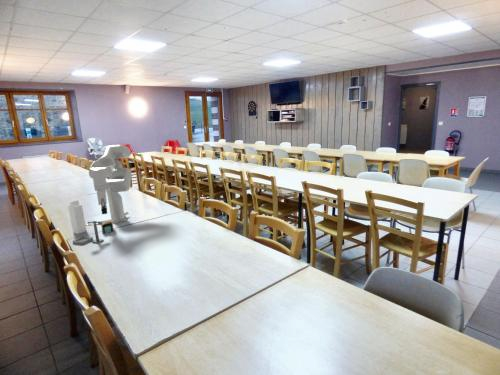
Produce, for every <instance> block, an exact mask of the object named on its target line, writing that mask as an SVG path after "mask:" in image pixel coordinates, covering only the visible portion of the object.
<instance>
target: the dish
mask: <svg viewBox="0 0 500 375" xmlns="http://www.w3.org/2000/svg"><path fill="white" fill-rule="evenodd" d="M92 241H94V238H93V237H91V236H82V237H79V238H77V239H75V240H72V244H73V245H80V246H83V245H85V244H89V243H90V242H92Z"/></svg>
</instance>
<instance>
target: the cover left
mask: <svg viewBox="0 0 500 375" xmlns="http://www.w3.org/2000/svg"><path fill="white" fill-rule="evenodd" d="M110 219H111V218H110ZM110 219H107V220H100V222H102V224H104V225H100V226H101V232H102V234H103V235H104V234H105V229H104V226H105V225H111V230H112V232H113V233H114V232H115V231H114V223H112V219H111V220H110Z"/></svg>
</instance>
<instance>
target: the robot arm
mask: <svg viewBox="0 0 500 375" xmlns="http://www.w3.org/2000/svg"><path fill="white" fill-rule="evenodd" d="M130 156H131V150H130V148H129V147H128V146H126V145H123V144H111V145H107V146H105V147H104V150H103V152H102V155H101V157H98V159H96V160H95V161H93V162H92V164H91V165H90V166H89V169H88V176H89V178H90V179H92V181H93V188H94V191H95V192H96V197H97V202H98V205H99V206H100V207H101V215H107V214H108V207H109V213H110V219H109V220H111V219H112V223H113V224H116V223H117V224H118V223H122V222H126V221H127V220H128V217H127V215H129V213H130V212H128V211H126V212H125V210H124V209H125V208H124V203H123V197H122V196H121V194H120V193H122V192H128V191H129V190H130V189H131V182H132V171H131V169H130V168H129V167H123V163H122V161H120V160H119V159H127V158H130ZM109 166H110V167H109ZM106 179H108V180H106ZM107 202H108V207H107Z"/></svg>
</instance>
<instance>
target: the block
mask: <svg viewBox="0 0 500 375" xmlns="http://www.w3.org/2000/svg"><path fill="white" fill-rule="evenodd" d="M104 229H105V231H104V234H105V233H111V232H112V229H111V225H105V226H104Z"/></svg>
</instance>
